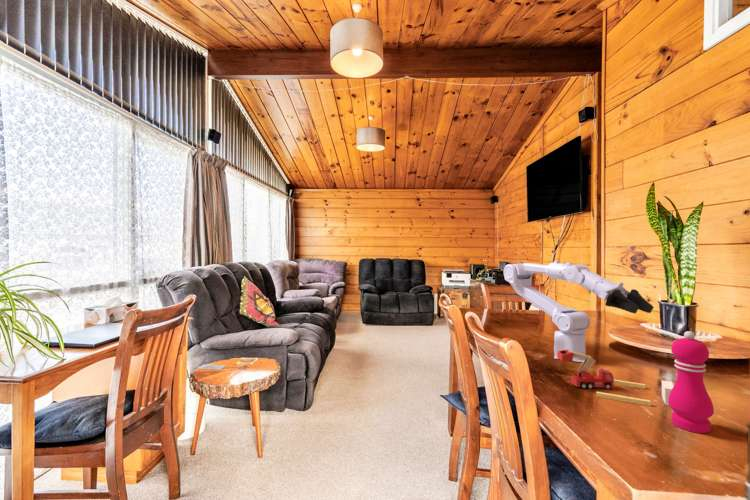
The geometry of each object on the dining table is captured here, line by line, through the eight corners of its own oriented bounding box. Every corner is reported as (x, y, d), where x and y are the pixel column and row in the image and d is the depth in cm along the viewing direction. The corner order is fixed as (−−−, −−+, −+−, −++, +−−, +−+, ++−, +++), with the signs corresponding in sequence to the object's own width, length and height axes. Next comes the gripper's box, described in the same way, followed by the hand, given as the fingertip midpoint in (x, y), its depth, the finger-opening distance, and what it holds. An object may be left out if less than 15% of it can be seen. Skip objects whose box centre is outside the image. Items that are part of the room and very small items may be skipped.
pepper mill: (659, 418, 79) (658, 328, 79) (689, 417, 80) (688, 326, 80) (691, 435, 72) (689, 336, 72) (724, 433, 73) (723, 334, 73)
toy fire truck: (616, 389, 96) (615, 353, 96) (562, 388, 97) (561, 352, 97) (609, 384, 99) (608, 349, 99) (557, 383, 101) (556, 349, 101)
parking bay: (596, 396, 91) (596, 380, 91) (596, 380, 102) (596, 366, 102) (678, 411, 83) (677, 393, 83) (669, 391, 94) (668, 376, 94)
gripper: (592, 274, 109) (637, 298, 98) (620, 276, 116) (664, 298, 105) (582, 294, 112) (624, 320, 100) (609, 295, 118) (652, 318, 107)
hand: (644, 310), depth 103 cm, fingers open, 7 cm apart
